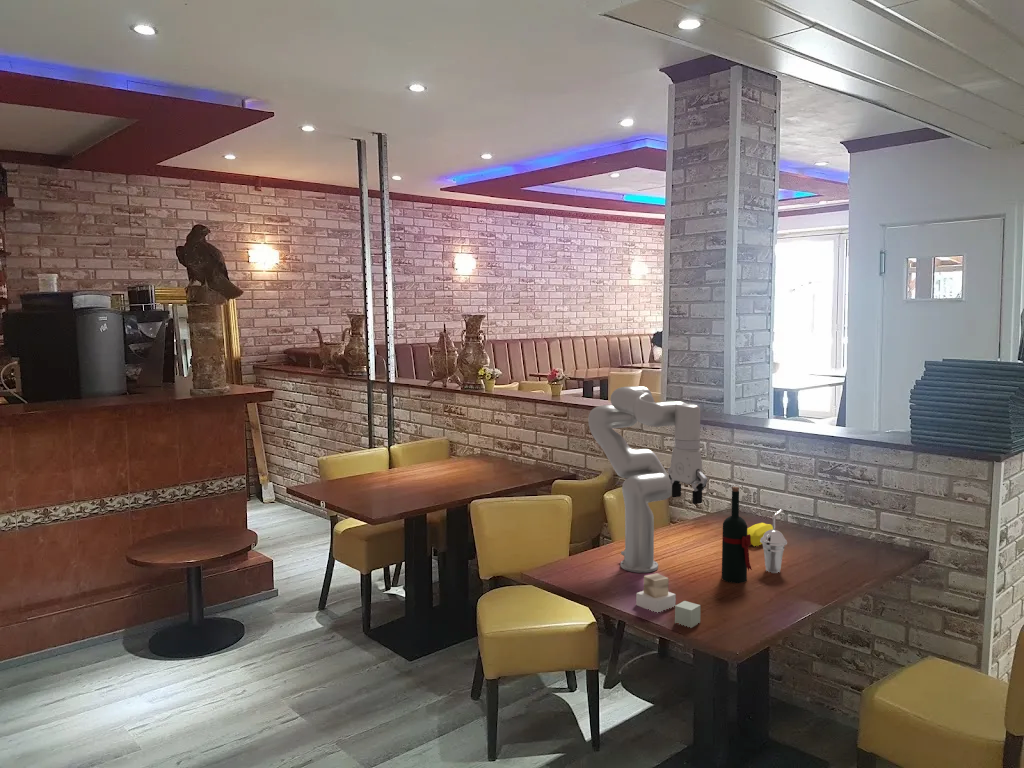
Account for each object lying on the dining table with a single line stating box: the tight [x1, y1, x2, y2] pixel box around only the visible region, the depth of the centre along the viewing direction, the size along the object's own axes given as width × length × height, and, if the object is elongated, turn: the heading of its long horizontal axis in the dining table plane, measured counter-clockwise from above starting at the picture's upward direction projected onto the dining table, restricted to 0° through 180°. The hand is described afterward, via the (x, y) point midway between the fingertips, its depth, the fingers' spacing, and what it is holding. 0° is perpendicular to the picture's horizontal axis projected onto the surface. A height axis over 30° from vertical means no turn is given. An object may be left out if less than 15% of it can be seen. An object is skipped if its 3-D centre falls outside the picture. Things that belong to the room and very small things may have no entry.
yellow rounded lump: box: [747, 522, 773, 548], centre depth 278 cm, size 18×7×8 cm
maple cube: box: [643, 572, 669, 598], centre depth 217 cm, size 5×5×5 cm
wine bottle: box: [721, 486, 753, 584], centre depth 237 cm, size 8×10×30 cm
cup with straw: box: [760, 508, 788, 574], centre depth 246 cm, size 8×9×20 cm
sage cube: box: [674, 600, 701, 629], centre depth 205 cm, size 5×5×5 cm
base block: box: [635, 590, 677, 614], centre depth 217 cm, size 8×8×4 cm
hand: (686, 500), depth 228 cm, fingers open, 9 cm apart
